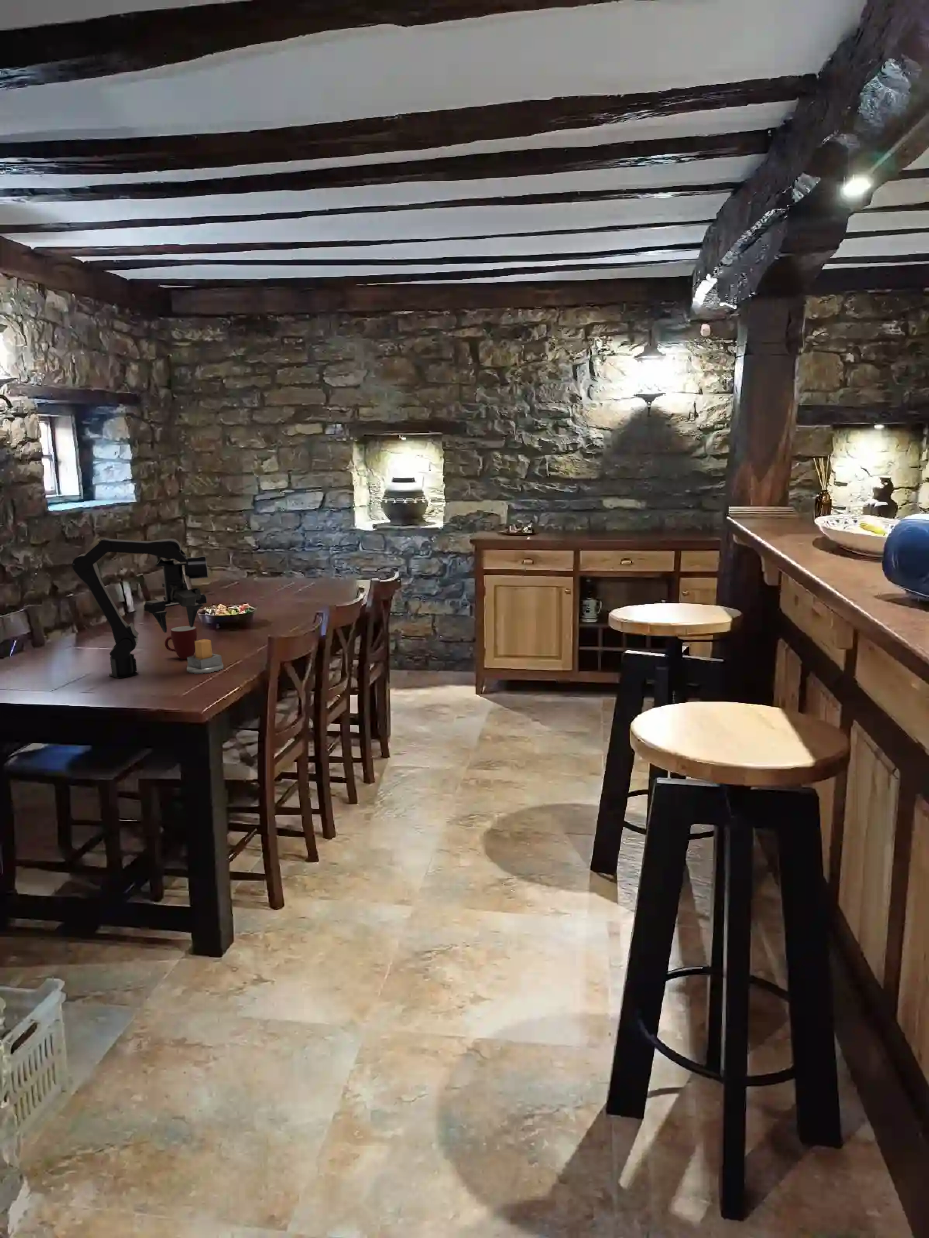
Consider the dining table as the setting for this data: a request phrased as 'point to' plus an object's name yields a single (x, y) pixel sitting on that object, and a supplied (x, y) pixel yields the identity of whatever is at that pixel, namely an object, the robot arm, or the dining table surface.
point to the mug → (183, 641)
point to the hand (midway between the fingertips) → (178, 629)
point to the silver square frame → (204, 664)
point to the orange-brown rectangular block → (203, 648)
